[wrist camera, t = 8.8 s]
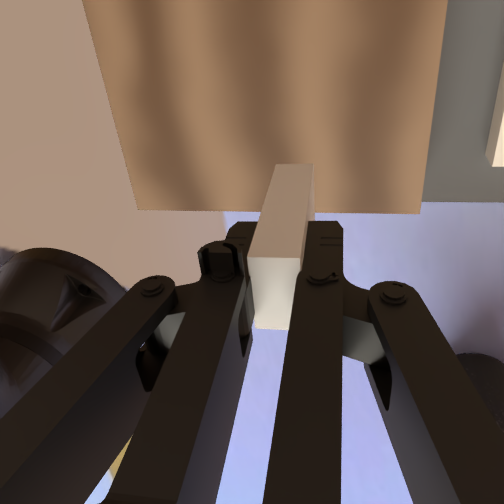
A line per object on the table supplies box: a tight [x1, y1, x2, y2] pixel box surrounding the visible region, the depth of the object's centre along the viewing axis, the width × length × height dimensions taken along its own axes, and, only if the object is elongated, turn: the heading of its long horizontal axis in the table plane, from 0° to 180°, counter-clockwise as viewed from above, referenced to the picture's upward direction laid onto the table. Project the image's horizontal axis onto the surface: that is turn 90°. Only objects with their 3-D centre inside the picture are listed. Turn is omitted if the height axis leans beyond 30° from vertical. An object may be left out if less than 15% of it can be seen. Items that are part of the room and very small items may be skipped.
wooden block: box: [82, 0, 448, 214], centre depth 29 cm, size 20×14×4 cm
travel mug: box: [456, 354, 504, 434], centre depth 34 cm, size 8×8×20 cm
